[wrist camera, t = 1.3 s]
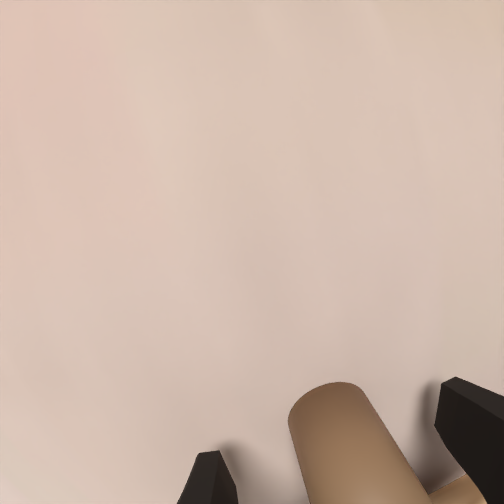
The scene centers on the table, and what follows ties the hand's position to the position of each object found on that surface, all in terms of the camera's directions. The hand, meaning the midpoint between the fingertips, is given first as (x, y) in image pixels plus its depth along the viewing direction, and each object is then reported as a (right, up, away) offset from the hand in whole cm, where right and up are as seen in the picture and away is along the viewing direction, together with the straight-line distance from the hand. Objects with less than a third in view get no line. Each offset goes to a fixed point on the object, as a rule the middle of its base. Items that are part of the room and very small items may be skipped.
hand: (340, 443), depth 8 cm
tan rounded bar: (+1, -6, +3) cm, 7 cm away
